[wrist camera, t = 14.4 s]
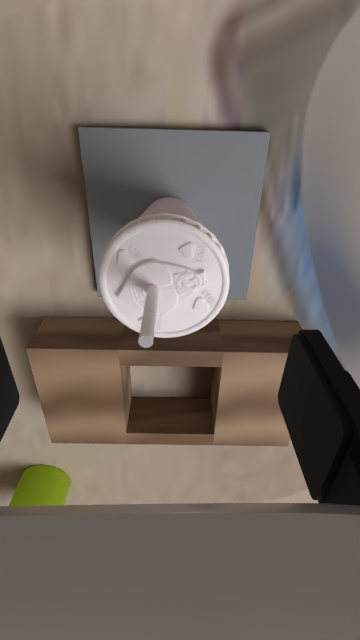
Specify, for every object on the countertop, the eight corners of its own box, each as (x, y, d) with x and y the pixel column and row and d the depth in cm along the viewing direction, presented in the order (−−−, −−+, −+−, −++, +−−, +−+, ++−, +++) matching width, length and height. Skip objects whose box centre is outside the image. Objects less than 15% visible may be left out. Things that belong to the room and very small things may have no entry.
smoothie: (112, 189, 23) (42, 281, 12) (204, 165, 23) (232, 238, 11) (139, 273, 27) (108, 410, 15) (221, 255, 26) (255, 385, 14)
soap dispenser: (83, 473, 42) (20, 723, 25) (55, 498, 45) (-19, 737, 28) (40, 454, 40) (-61, 711, 23) (13, 480, 43) (-94, 727, 26)
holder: (45, 316, 30) (25, 348, 26) (298, 321, 30) (315, 353, 26) (65, 406, 36) (51, 442, 32) (276, 409, 36) (287, 446, 32)
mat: (80, 126, 22) (77, 127, 21) (267, 131, 22) (270, 132, 22) (100, 292, 29) (98, 297, 28) (244, 295, 29) (246, 299, 28)
